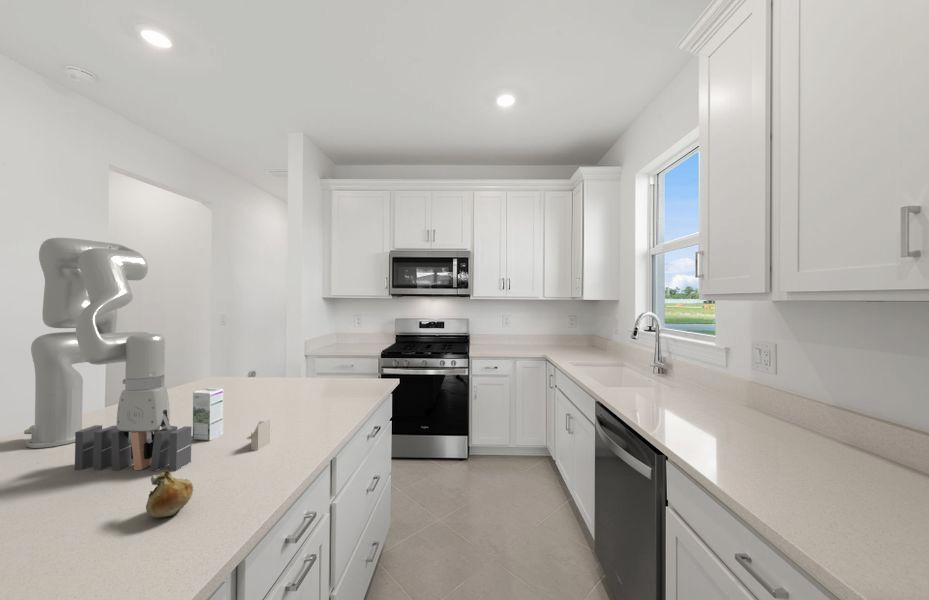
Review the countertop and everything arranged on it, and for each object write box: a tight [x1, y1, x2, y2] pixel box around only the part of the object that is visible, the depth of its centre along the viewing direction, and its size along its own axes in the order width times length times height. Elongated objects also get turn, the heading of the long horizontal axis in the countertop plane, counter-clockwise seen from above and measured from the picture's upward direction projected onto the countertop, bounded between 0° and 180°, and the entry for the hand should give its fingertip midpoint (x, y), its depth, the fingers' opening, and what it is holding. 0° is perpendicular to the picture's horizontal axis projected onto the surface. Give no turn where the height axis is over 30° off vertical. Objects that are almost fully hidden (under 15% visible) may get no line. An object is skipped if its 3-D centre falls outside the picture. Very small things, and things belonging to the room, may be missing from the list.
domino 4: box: [131, 431, 154, 471], centre depth 95 cm, size 2×5×9 cm, turn 0°
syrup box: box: [192, 387, 224, 442], centre depth 115 cm, size 6×6×14 cm
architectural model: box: [246, 418, 272, 451], centre depth 110 cm, size 3×7×7 cm, turn 174°
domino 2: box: [93, 425, 117, 471], centre depth 95 cm, size 2×5×9 cm, turn 0°
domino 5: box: [149, 425, 178, 471], centre depth 95 cm, size 2×5×9 cm, turn 0°
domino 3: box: [111, 430, 134, 471], centre depth 95 cm, size 2×5×9 cm, turn 0°
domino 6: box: [168, 426, 192, 471], centre depth 95 cm, size 2×5×9 cm, turn 0°
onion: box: [145, 470, 194, 519], centre depth 74 cm, size 8×8×8 cm
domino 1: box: [74, 424, 103, 471], centre depth 95 cm, size 2×5×9 cm, turn 0°
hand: (144, 456), depth 95 cm, fingers closed
